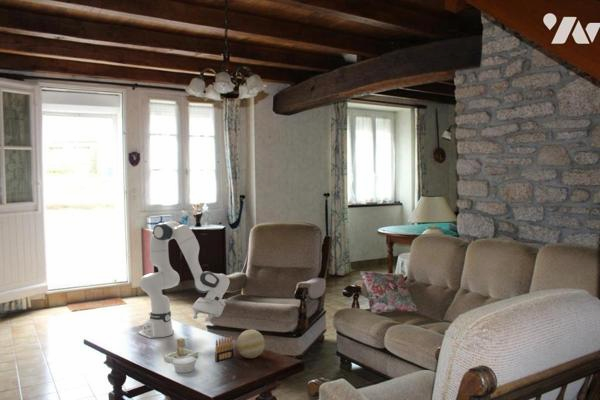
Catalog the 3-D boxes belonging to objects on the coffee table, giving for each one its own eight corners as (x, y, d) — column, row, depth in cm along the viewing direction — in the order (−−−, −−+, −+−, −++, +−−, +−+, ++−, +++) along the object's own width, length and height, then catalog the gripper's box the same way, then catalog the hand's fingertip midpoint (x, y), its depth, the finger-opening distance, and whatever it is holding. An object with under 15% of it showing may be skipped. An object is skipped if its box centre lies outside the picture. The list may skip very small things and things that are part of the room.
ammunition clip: (216, 362, 268) (216, 340, 268) (214, 362, 270) (214, 339, 269) (234, 358, 275) (233, 336, 274) (232, 357, 276) (231, 335, 276)
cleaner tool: (174, 358, 274) (173, 340, 273) (183, 354, 280) (183, 336, 279) (178, 359, 272) (177, 341, 272) (187, 355, 278) (187, 337, 278)
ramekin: (188, 364, 267) (188, 354, 267) (200, 369, 259) (200, 359, 259) (169, 370, 259) (168, 359, 259) (180, 375, 251) (180, 365, 251)
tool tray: (163, 360, 273) (163, 356, 272) (183, 352, 285) (183, 348, 285) (177, 364, 267) (177, 359, 267) (197, 356, 279) (197, 351, 279)
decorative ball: (251, 364, 265) (250, 335, 264) (231, 358, 274) (230, 330, 273) (270, 356, 276) (270, 329, 276) (250, 351, 286) (250, 324, 285)
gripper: (197, 293, 305) (184, 313, 298) (222, 299, 294) (210, 320, 286) (202, 299, 309) (190, 319, 302) (228, 305, 298) (216, 325, 290)
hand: (200, 319), depth 294 cm, fingers open, 8 cm apart
